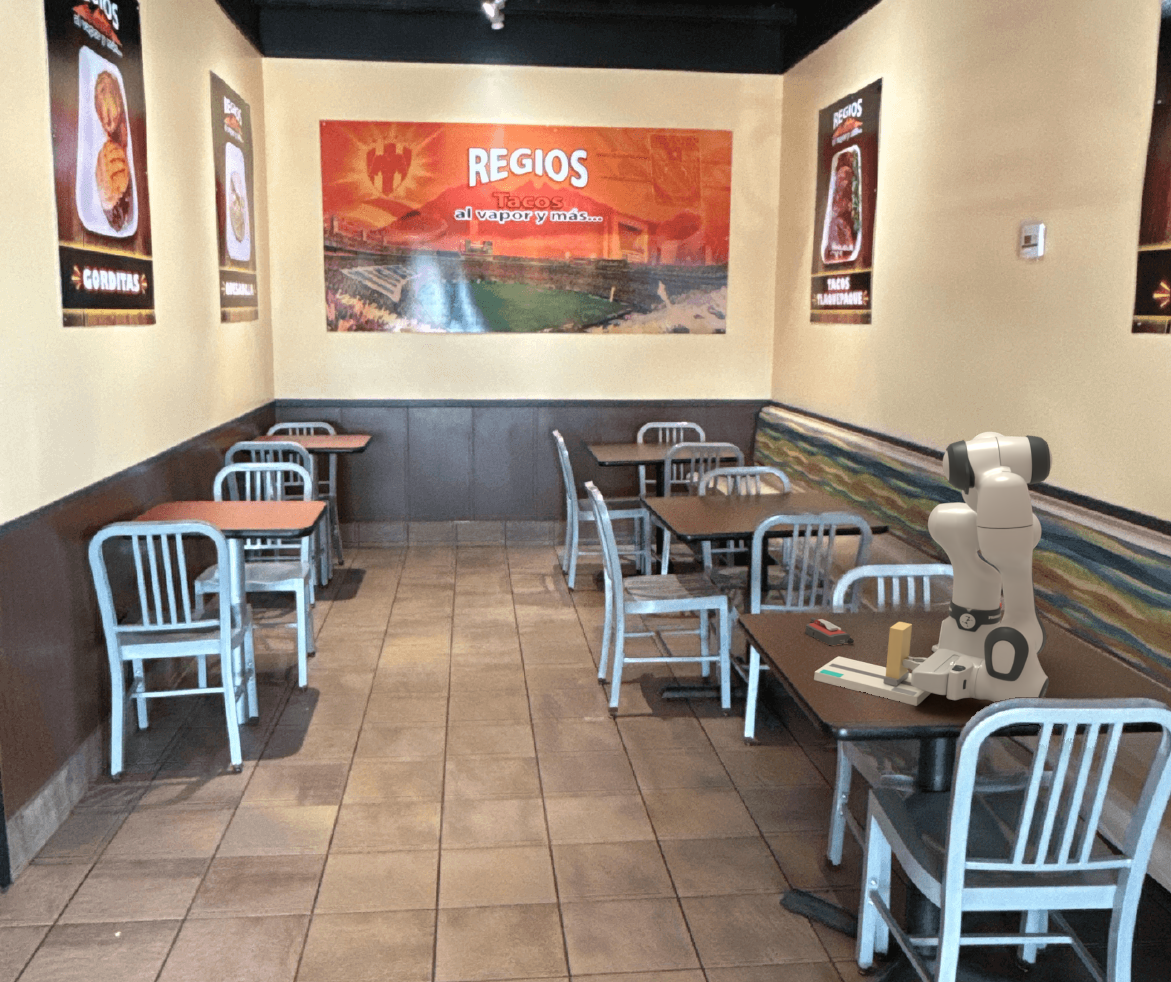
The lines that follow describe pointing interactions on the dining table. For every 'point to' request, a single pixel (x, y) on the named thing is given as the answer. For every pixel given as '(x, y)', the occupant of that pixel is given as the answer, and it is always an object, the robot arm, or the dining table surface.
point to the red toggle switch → (827, 632)
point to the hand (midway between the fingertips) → (904, 661)
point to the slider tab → (898, 653)
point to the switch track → (868, 680)
